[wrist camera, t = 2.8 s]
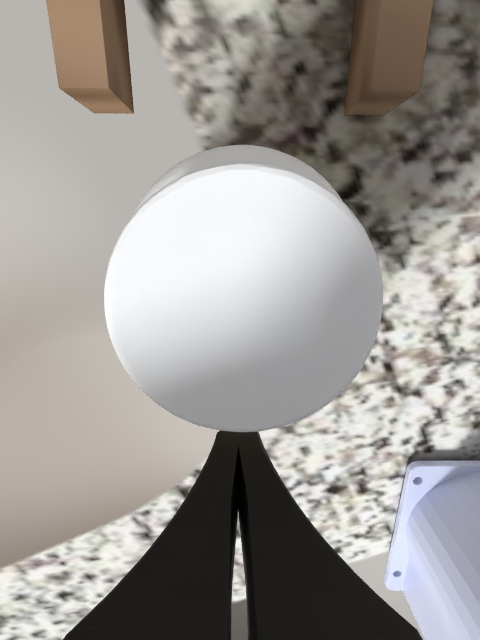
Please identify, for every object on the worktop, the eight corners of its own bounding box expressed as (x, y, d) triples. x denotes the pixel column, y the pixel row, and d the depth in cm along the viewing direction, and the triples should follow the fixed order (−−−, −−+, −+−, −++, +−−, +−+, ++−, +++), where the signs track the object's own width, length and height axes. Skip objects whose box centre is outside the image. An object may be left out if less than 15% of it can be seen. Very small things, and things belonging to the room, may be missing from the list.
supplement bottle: (326, 257, 14) (507, 342, 5) (230, 331, 15) (221, 521, 6) (249, 149, 13) (285, -36, 3) (149, 239, 14) (-37, 288, 4)
